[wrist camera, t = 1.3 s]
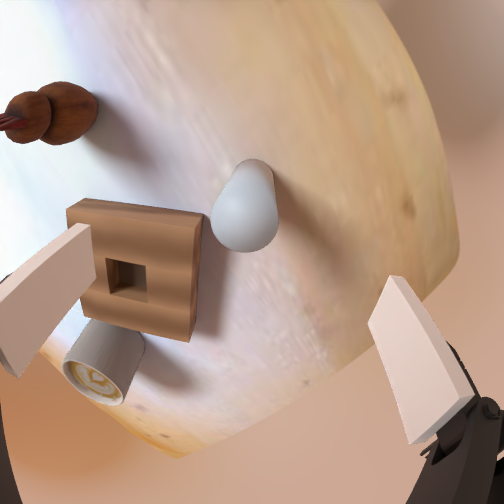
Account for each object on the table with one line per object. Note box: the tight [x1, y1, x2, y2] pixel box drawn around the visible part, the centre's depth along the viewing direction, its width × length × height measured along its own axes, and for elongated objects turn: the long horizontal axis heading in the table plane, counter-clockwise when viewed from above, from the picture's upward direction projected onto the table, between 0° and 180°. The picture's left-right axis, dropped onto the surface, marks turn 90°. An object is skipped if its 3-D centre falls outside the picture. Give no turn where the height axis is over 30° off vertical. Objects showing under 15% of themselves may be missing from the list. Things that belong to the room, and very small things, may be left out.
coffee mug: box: [62, 319, 145, 406], centre depth 34 cm, size 13×10×10 cm
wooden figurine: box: [0, 81, 98, 145], centre depth 17 cm, size 7×6×15 cm
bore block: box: [66, 198, 204, 343], centre depth 30 cm, size 15×15×4 cm
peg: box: [211, 159, 279, 253], centre depth 22 cm, size 4×4×12 cm
